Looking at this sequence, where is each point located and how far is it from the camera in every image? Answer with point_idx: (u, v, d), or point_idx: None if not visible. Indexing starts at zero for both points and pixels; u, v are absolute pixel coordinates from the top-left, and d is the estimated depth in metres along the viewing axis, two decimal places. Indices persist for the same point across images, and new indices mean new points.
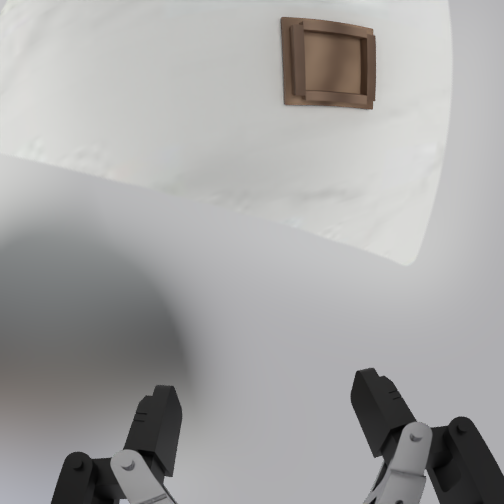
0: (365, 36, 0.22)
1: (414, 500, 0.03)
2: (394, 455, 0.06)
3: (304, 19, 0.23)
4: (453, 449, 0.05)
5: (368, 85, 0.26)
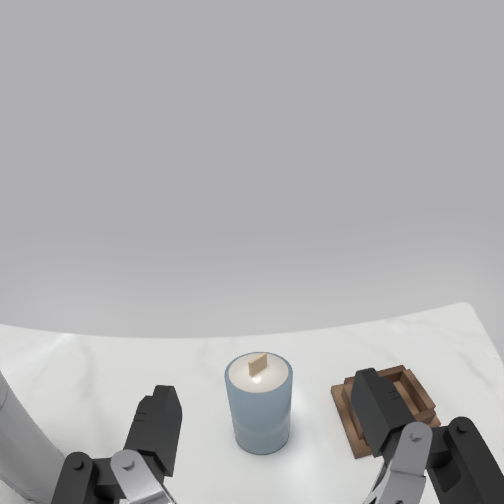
0: (351, 384, 0.30)
1: (414, 500, 0.03)
2: (394, 455, 0.06)
3: (352, 436, 0.24)
4: (453, 449, 0.05)
5: (393, 372, 0.31)
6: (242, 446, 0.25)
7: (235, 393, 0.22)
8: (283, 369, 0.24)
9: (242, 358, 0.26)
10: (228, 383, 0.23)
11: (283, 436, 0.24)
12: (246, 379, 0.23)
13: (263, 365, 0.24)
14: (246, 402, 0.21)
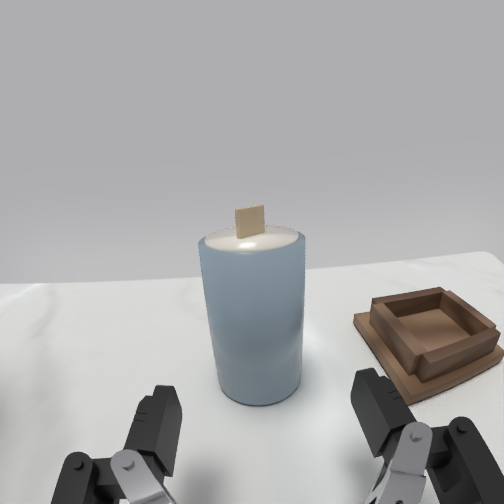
0: (382, 304, 0.23)
1: (414, 500, 0.03)
2: (394, 455, 0.06)
3: (397, 372, 0.17)
4: (453, 449, 0.05)
5: (432, 293, 0.23)
6: (228, 391, 0.17)
7: (211, 259, 0.14)
8: (290, 233, 0.16)
9: (228, 229, 0.18)
10: (202, 247, 0.15)
11: (293, 370, 0.17)
12: (231, 241, 0.15)
13: (259, 226, 0.16)
14: (230, 273, 0.14)
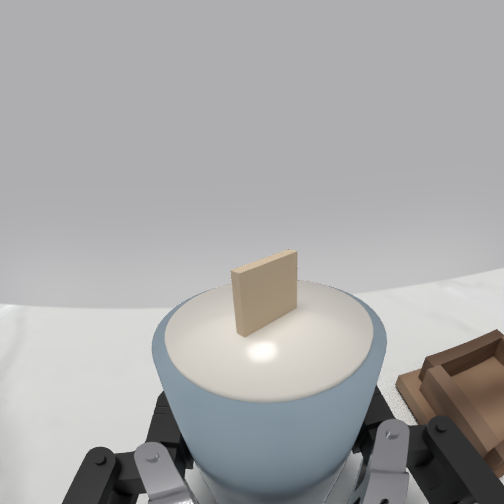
0: (439, 366, 0.14)
1: (400, 497, 0.04)
2: (372, 454, 0.06)
3: None
4: (431, 448, 0.05)
5: (491, 341, 0.14)
6: None
7: (177, 400, 0.05)
8: (351, 312, 0.07)
9: (219, 290, 0.09)
10: (158, 359, 0.06)
11: (326, 495, 0.08)
12: (224, 346, 0.06)
13: (286, 298, 0.07)
14: (221, 438, 0.05)
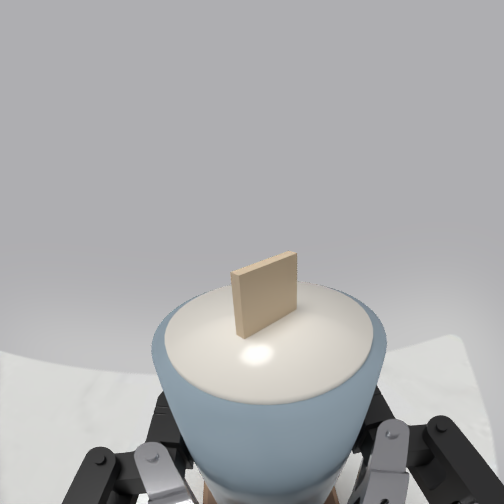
0: None
1: (400, 497, 0.04)
2: (372, 454, 0.06)
3: None
4: (431, 448, 0.05)
5: None
6: None
7: (176, 402, 0.05)
8: (351, 313, 0.07)
9: (219, 292, 0.09)
10: (157, 360, 0.06)
11: (326, 496, 0.08)
12: (224, 348, 0.06)
13: (286, 300, 0.07)
14: (221, 439, 0.05)
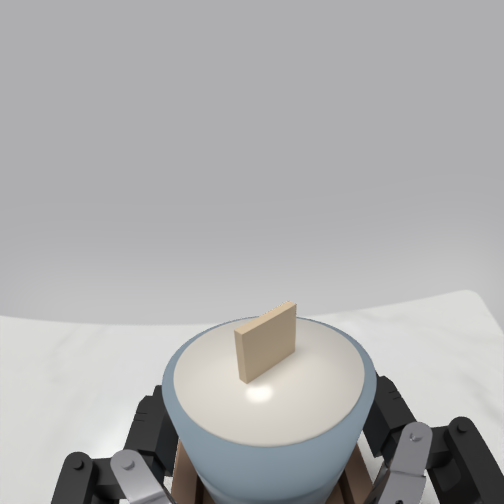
0: None
1: (414, 500, 0.03)
2: (394, 455, 0.06)
3: None
4: (453, 449, 0.05)
5: None
6: None
7: (187, 441, 0.05)
8: (346, 356, 0.07)
9: (222, 330, 0.09)
10: (168, 403, 0.06)
11: None
12: (228, 393, 0.06)
13: (285, 346, 0.08)
14: (227, 471, 0.05)
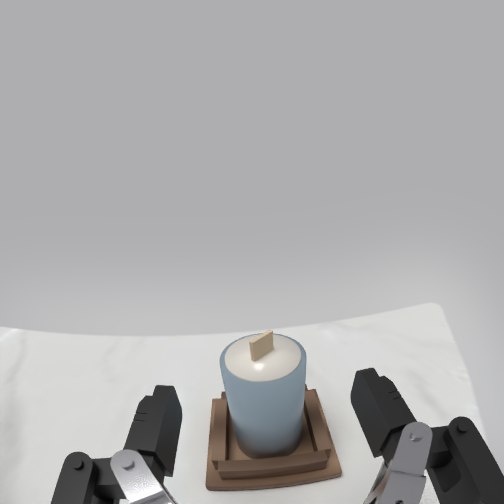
0: (225, 400, 0.25)
1: (414, 500, 0.03)
2: (394, 455, 0.06)
3: (208, 463, 0.19)
4: (453, 449, 0.05)
5: None
6: (245, 452, 0.20)
7: (232, 384, 0.17)
8: (294, 351, 0.19)
9: (242, 340, 0.21)
10: (224, 370, 0.18)
11: (295, 439, 0.19)
12: (247, 365, 0.18)
13: (268, 347, 0.19)
14: (247, 395, 0.16)
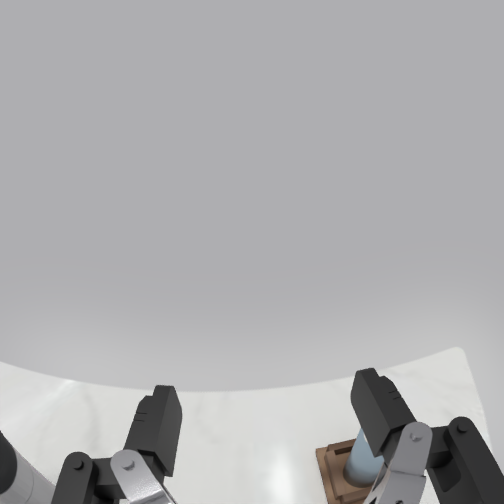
0: (333, 451, 0.29)
1: (414, 500, 0.03)
2: (394, 455, 0.06)
3: (329, 497, 0.23)
4: (453, 449, 0.05)
5: None
6: (353, 484, 0.24)
7: None
8: None
9: None
10: (368, 446, 0.21)
11: None
12: None
13: None
14: (382, 457, 0.20)
